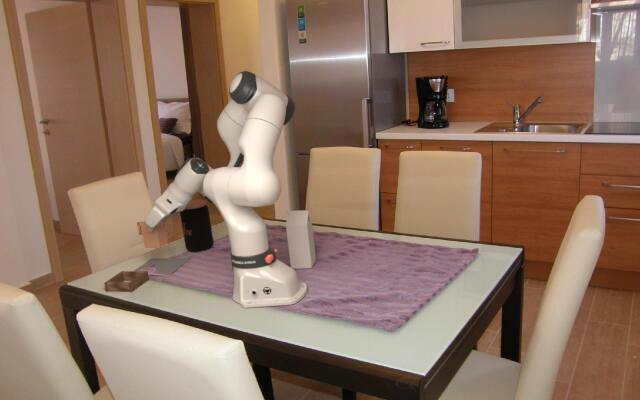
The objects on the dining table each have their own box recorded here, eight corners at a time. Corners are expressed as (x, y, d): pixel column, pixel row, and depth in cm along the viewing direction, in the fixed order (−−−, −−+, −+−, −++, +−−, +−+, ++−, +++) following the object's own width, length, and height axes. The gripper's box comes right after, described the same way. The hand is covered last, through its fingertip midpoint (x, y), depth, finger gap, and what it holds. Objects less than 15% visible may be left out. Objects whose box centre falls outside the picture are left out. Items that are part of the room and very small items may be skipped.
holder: (149, 279, 196) (147, 271, 195) (132, 291, 186) (131, 283, 185) (123, 279, 198) (121, 271, 197) (106, 291, 189) (104, 283, 188)
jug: (168, 241, 206) (164, 217, 204) (160, 247, 201) (155, 223, 199) (146, 242, 209) (141, 218, 207) (137, 248, 203) (132, 223, 201)
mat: (190, 259, 212) (190, 258, 212) (169, 276, 197) (169, 275, 197) (152, 259, 216) (151, 258, 216) (128, 276, 201) (127, 274, 201)
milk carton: (311, 268, 190) (305, 213, 185) (290, 269, 192) (284, 214, 187) (316, 260, 197) (310, 207, 192) (296, 261, 198) (289, 208, 193)
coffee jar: (185, 246, 227) (177, 202, 222) (212, 241, 230) (205, 197, 225) (187, 254, 217) (179, 208, 212) (215, 249, 220) (208, 203, 215)
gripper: (183, 185, 207) (163, 212, 212) (153, 201, 188) (133, 230, 193) (196, 196, 207) (176, 223, 212) (168, 213, 188) (147, 242, 193)
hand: (155, 226), depth 203 cm, fingers closed on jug, 6 cm apart
